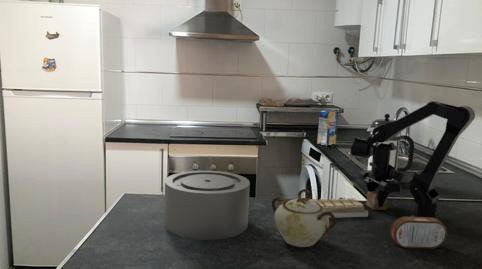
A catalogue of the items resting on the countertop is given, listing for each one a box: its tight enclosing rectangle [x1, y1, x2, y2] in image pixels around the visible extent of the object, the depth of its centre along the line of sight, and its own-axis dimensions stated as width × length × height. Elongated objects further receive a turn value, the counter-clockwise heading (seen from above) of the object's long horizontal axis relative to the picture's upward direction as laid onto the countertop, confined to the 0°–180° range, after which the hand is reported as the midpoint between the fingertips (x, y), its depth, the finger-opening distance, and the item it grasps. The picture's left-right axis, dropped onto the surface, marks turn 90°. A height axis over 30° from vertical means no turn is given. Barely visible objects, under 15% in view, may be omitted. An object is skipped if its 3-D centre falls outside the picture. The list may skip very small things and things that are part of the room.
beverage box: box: [316, 110, 339, 146], centre depth 266 cm, size 7×11×22 cm, turn 136°
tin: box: [389, 216, 448, 250], centre depth 116 cm, size 15×3×8 cm, turn 92°
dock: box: [328, 209, 369, 219], centre depth 141 cm, size 9×19×2 cm, turn 101°
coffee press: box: [366, 113, 415, 183], centre depth 183 cm, size 17×16×30 cm
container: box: [163, 170, 251, 241], centre depth 126 cm, size 25×25×13 cm
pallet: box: [310, 198, 365, 211], centre depth 141 cm, size 7×17×2 cm, turn 101°
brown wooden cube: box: [366, 191, 389, 211], centre depth 148 cm, size 5×5×5 cm
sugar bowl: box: [271, 188, 337, 248], centre depth 116 cm, size 20×15×15 cm
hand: (376, 204), depth 148 cm, fingers closed on brown wooden cube, 5 cm apart
